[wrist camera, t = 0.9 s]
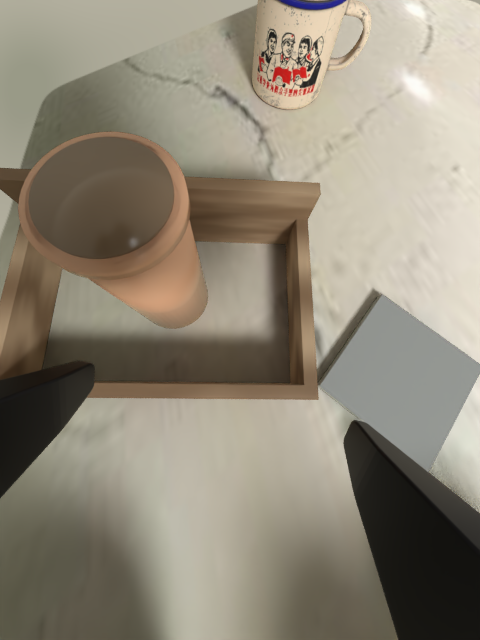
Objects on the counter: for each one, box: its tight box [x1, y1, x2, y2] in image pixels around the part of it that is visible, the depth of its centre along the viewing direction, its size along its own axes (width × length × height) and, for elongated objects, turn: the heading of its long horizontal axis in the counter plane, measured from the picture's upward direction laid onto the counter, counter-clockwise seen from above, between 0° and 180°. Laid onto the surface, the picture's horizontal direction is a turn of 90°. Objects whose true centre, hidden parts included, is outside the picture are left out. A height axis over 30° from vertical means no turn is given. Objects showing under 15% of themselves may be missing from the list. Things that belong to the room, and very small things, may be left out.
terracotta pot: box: [18, 132, 208, 329], centre depth 16 cm, size 7×7×13 cm
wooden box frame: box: [0, 168, 321, 400], centre depth 19 cm, size 16×24×7 cm, turn 89°
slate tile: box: [318, 294, 480, 472], centre depth 21 cm, size 11×11×1 cm
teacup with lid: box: [252, 0, 371, 109], centre depth 24 cm, size 12×9×12 cm
